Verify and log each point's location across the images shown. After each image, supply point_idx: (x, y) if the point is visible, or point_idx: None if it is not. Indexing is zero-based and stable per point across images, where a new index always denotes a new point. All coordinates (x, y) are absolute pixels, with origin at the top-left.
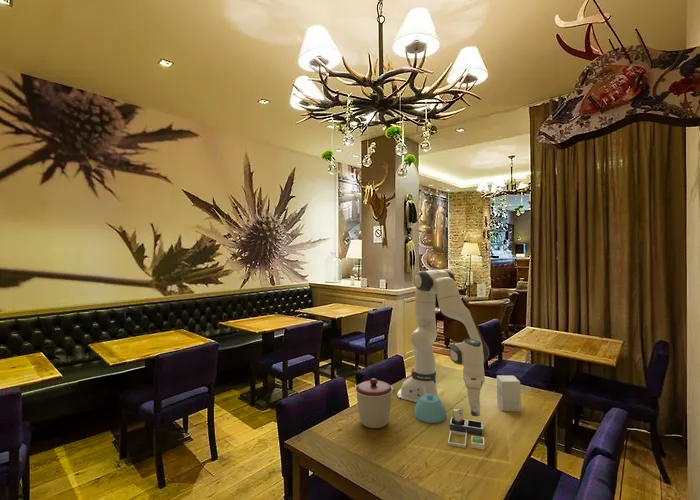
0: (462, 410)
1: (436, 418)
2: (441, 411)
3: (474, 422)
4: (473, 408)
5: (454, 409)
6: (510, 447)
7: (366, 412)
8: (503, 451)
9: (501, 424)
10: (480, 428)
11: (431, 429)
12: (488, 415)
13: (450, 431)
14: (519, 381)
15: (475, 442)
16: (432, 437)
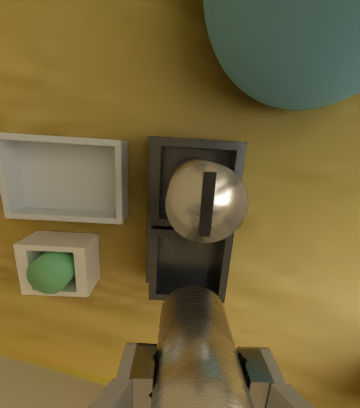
0: (199, 241)
1: (218, 37)
2: (274, 60)
3: (220, 264)
4: (119, 372)
5: (198, 174)
6: (115, 349)
7: None
8: (80, 329)
9: (275, 338)
10: (150, 291)
11: (160, 31)
12: (349, 302)
13: (110, 142)
14: None
15: (26, 262)
16: (76, 45)
